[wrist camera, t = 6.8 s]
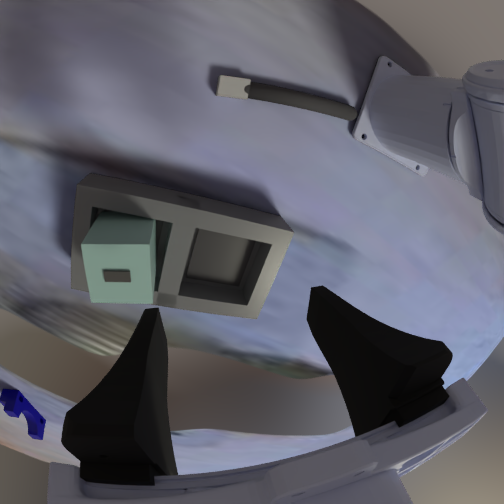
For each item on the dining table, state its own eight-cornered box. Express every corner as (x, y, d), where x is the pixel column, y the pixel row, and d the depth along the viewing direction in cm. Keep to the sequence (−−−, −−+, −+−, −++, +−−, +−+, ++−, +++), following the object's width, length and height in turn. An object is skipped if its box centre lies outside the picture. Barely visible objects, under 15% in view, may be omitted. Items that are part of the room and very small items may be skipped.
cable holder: (3, 387, 26) (-4, 408, 23) (19, 389, 27) (12, 411, 23) (30, 417, 30) (26, 437, 26) (46, 419, 30) (42, 440, 27)
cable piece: (353, 106, 20) (361, 107, 19) (350, 122, 21) (358, 124, 20) (218, 76, 17) (220, 75, 16) (215, 95, 18) (217, 95, 17)
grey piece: (281, 216, 23) (294, 232, 21) (248, 297, 26) (256, 319, 24) (90, 173, 18) (77, 184, 15) (80, 267, 21) (71, 288, 19)
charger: (156, 211, 19) (149, 245, 15) (156, 261, 21) (152, 305, 17) (101, 211, 18) (80, 245, 14) (106, 261, 20) (90, 303, 16)
